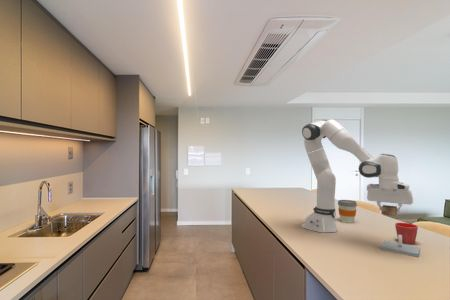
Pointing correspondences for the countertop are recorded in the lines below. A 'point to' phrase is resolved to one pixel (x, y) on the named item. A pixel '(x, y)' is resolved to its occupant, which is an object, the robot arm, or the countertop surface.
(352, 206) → the reusable coffee cup
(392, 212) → the collar
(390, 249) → the post block
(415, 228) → the flower pot
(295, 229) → the countertop surface
